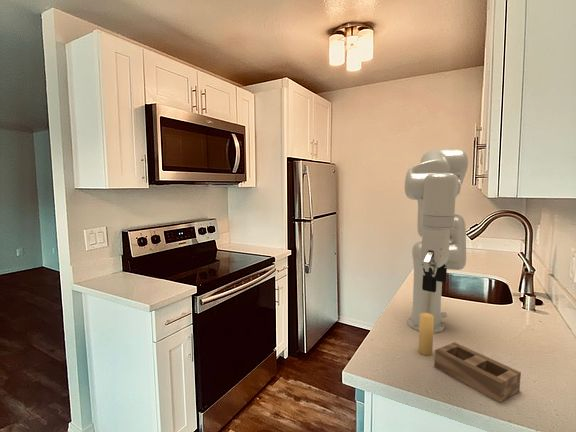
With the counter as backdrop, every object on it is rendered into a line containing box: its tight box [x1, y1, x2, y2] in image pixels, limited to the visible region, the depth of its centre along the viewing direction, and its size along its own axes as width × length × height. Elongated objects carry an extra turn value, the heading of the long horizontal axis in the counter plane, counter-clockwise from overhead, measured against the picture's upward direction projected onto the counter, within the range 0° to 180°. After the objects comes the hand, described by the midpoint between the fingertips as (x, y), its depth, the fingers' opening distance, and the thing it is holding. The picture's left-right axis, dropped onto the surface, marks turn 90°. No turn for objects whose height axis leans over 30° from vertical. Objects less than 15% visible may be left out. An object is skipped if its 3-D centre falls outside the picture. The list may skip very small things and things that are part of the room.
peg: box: [417, 313, 434, 357], centre depth 102 cm, size 4×4×12 cm
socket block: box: [433, 341, 522, 403], centre depth 89 cm, size 9×18×5 cm, turn 30°
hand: (434, 285), depth 87 cm, fingers open, 9 cm apart
